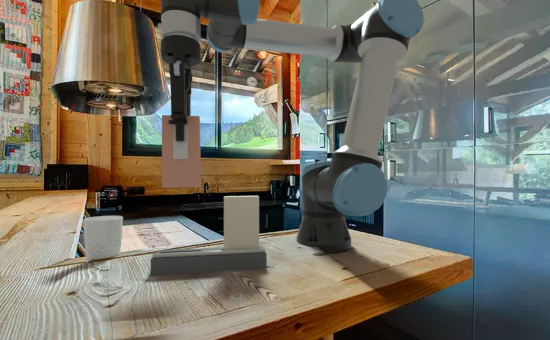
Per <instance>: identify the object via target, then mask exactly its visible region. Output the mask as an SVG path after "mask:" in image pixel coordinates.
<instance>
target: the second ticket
mask: <svg viewBox="0 0 550 340" xmlns="http://www.w3.org/2000/svg"><path fill="white" fill-rule="evenodd" d="M259 246H260V196H259V195H238V196H237V195H229V196H228V195H226V196H223V247H224V250H240V249H259Z"/></svg>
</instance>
